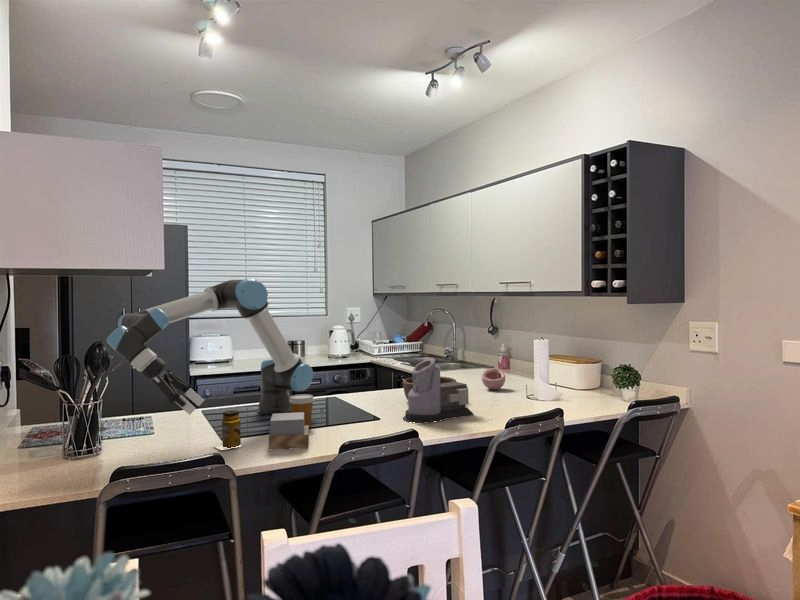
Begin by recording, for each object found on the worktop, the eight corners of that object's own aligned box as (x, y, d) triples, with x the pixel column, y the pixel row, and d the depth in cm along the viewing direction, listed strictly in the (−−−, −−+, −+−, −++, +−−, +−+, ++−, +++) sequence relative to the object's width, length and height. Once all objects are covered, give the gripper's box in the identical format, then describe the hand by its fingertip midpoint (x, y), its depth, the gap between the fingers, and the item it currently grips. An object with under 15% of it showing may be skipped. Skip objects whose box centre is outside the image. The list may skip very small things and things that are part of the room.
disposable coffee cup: (305, 423, 220) (304, 393, 220) (319, 427, 213) (318, 396, 213) (284, 427, 213) (284, 396, 213) (298, 431, 207) (298, 399, 206)
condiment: (245, 446, 188) (244, 411, 188) (222, 452, 182) (221, 415, 182) (235, 442, 193) (234, 408, 193) (212, 447, 187) (211, 412, 187)
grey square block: (270, 435, 184) (270, 420, 184) (272, 427, 195) (272, 413, 195) (303, 433, 186) (303, 419, 186) (304, 426, 197) (304, 412, 197)
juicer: (415, 425, 213) (414, 362, 213) (395, 417, 227) (394, 358, 227) (477, 416, 228) (476, 357, 227) (455, 409, 242) (454, 353, 241)
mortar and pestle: (481, 391, 281) (481, 369, 281) (482, 387, 293) (481, 366, 292) (505, 392, 279) (505, 369, 279) (505, 387, 291) (504, 366, 290)
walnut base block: (268, 451, 183) (268, 436, 183) (271, 441, 196) (271, 427, 196) (308, 449, 185) (308, 434, 185) (309, 439, 198) (308, 425, 198)
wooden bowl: (422, 394, 276) (422, 374, 275) (466, 400, 261) (466, 378, 261) (392, 403, 255) (392, 381, 255) (438, 409, 241) (438, 386, 240)
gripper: (152, 367, 195) (197, 408, 198) (128, 378, 170) (180, 424, 173) (167, 352, 196) (212, 392, 198) (146, 361, 171) (197, 406, 174)
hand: (197, 407), depth 186 cm, fingers open, 13 cm apart
